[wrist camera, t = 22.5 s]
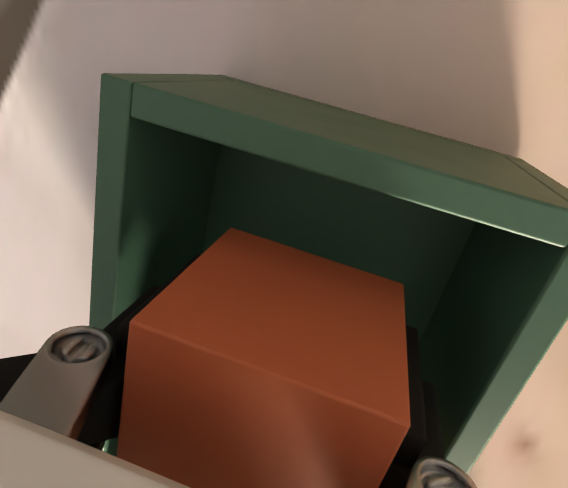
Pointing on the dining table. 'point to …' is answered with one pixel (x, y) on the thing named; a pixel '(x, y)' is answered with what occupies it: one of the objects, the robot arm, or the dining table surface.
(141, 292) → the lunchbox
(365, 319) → the block
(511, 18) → the dining table surface
